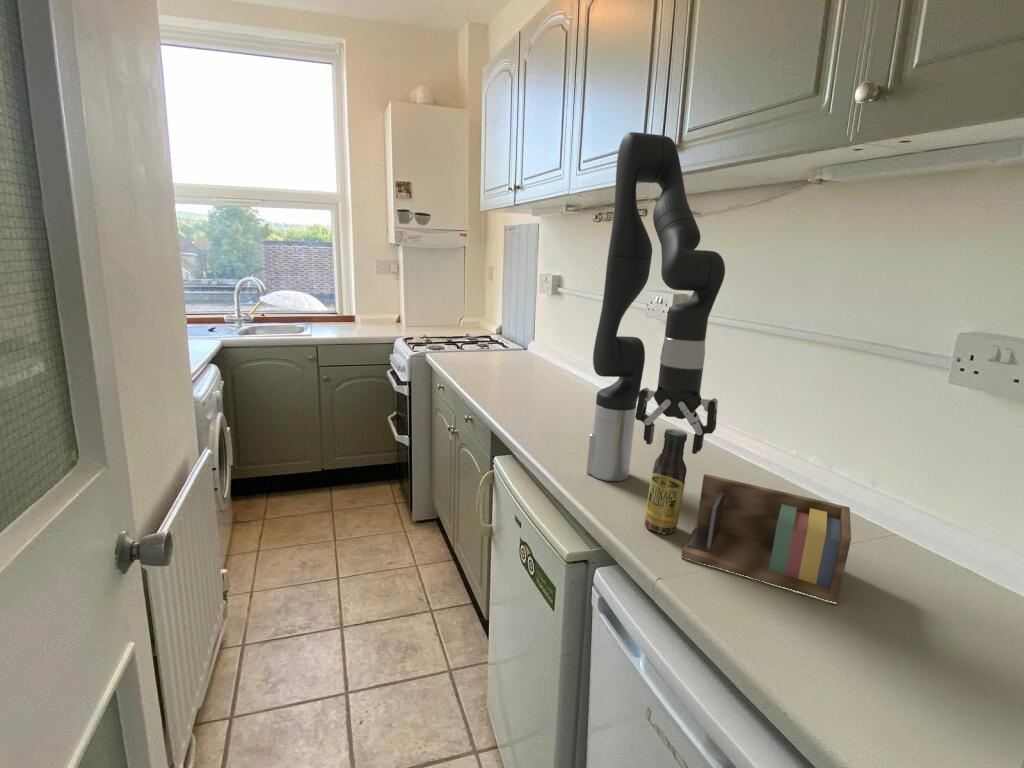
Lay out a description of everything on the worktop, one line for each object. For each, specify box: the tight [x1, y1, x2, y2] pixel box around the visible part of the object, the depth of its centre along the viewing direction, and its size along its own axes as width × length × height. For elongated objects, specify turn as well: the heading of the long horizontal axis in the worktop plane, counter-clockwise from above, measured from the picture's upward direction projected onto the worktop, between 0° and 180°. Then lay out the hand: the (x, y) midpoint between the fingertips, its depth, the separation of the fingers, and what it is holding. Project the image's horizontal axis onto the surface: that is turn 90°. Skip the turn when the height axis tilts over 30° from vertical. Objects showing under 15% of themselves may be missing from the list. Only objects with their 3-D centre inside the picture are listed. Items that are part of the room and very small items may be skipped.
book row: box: [769, 504, 840, 588], centre depth 94 cm, size 9×9×9 cm
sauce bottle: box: [644, 428, 688, 535], centre depth 107 cm, size 7×6×20 cm
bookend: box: [688, 490, 725, 553], centre depth 102 cm, size 4×9×8 cm, turn 150°
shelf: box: [680, 473, 852, 604], centre depth 97 cm, size 24×13×12 cm, turn 60°
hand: (671, 448), depth 105 cm, fingers open, 8 cm apart
